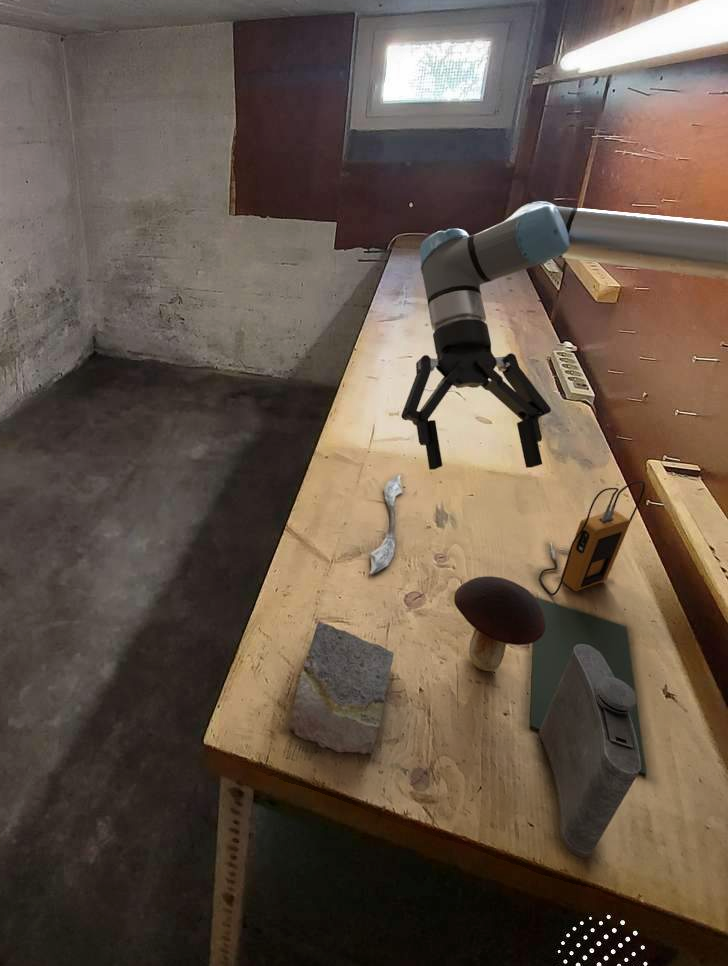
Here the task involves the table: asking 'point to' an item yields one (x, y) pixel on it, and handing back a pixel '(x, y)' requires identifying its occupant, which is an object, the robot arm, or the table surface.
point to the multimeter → (594, 546)
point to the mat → (556, 651)
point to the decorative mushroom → (498, 618)
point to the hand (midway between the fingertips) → (485, 467)
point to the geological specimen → (341, 691)
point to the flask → (590, 747)
